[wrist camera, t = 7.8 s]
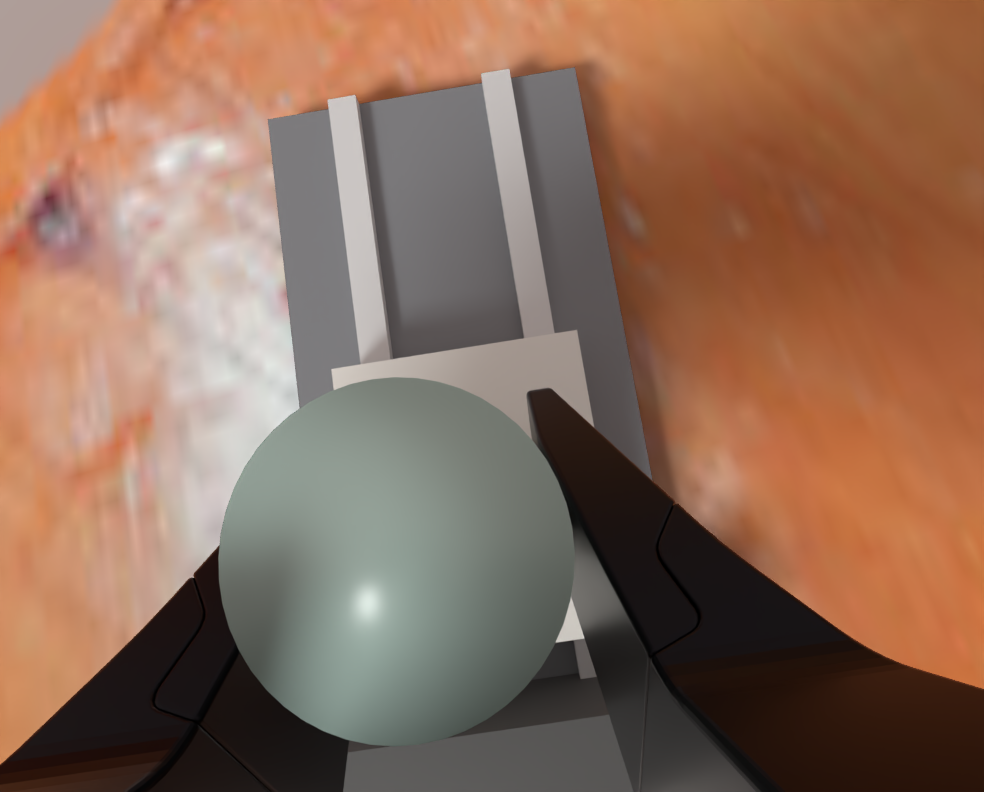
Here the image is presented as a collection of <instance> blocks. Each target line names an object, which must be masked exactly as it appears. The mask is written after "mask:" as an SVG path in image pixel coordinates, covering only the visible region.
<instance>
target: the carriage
mask: <svg viewBox="0 0 984 792" xmlns="http://www.w3.org/2000/svg"><path fill="white" fill-rule="evenodd" d="M331 371H332V379H333V388H334V390H333V391H330V392H328V393H326V394H324V395H322V396H320V397H318V398H316V399H314V400H312V401H310V402H309V403H307V404H306V405H304V406H303V407H301V408H300V409H298V410H297V411H296V412H294V413H293V414H291V415H290V416H289V417H288V418H286V419H285V420H284V421H283V422H282V423H281V424H280V425H279V426H278V427H276V428H275V429H274V430H273V431H272V432H271V433H270V435H269V436H268V437H267V438H266V439H265V440H264V441H263V443H262V444H261V445H260V446H259V447H258V448H257V450H256V451H255V453H254V454H253V456H252V457H251V459H250V460H249V462H248V463H247V465H246V466H245V468H244V470H243V472H242V474H241V476H240V478H239V480H238V481H237V483H236V485H235V487H234V490H233V493H232V495H231V498H230V501H229V504H228V506H227V509H226V513H225V517H224V522H223V526H222V530H221V536H220V546H219V556H218V561H219V584H220V591H221V597H222V604H223V608H224V611H225V615H226V618H227V622H228V625H229V629H230V631H231V633H232V636H233V638H234V640H235V642H236V645H237V647H238V649H239V651H240V653H241V655H242V656H243V658H244V660H245V661H246V663H247V665H248V666H249V668H250V670H251V671H252V672H253V674H254V675H255V676H256V677H257V679H258V680H259V681H260V682H261V684H262V685H263V686H264V688H265V689H266V690H267V691H268V692H269V693H270V694H271V695H272V696H273V697H274V698H275V699H277V700H278V701H279V702H280V703H281V704H282V705H283V706H284V707H285V708H287V709H288V710H289V711H291V712H292V713H294V714H295V715H296V716H298V717H299V718H300V719H302V720H303V721H305V722H307V723H309V724H311V725H313V726H315V727H317V728H318V729H320V730H322V731H324V732H327V733H330V734H332V735H335V736H338V737H341V738H343V739H346V740H350V741H355V742H360V743H364V744H369V745H382V746H406V745H419V744H424V743H428V742H433V741H438V740H442V739H445V738H448V737H450V736H453V735H456V734H459V733H461V732H464V731H466V730H468V729H470V728H472V727H474V726H476V725H478V724H479V723H481V722H483V721H485V720H487V719H488V718H490V717H491V716H492V715H494V714H495V713H497V712H498V711H499V710H501V709H502V708H504V707H505V706H506V705H508V704H509V703H510V702H511V701H512V700H513V699H514V698H515V697H516V696H517V695H518V694H519V693H520V692H521V691H522V690H523V689H524V688H525V687H526V686H527V685H528V683H529V682H530V681H531V680H532V678H533V677H534V676H535V675H536V673H537V672H538V671H539V670H540V668H541V667H542V665H543V664H544V662H545V660H546V659H547V657H548V655H549V654H550V652H551V650H552V649H553V647H554V645H555V643H557V642H564V641H570V640H577V639H584V635H583V632H582V629H581V626H580V623H579V620H578V616H577V613H576V610H575V607H574V604H573V601H572V598H571V593H572V586H573V580H574V558H575V550H574V540H573V531H572V525H571V520H570V516H569V512H568V508H567V504H566V501H565V498H564V496H563V493H562V490H561V488H560V485H559V482H558V480H557V478H556V476H555V475H554V473H553V471H552V469H551V467H550V465H549V463H548V461H547V460H546V458H545V457H544V456H543V454H542V453H541V451H540V450H539V449H538V447H537V446H536V444H535V443H534V442H533V440H532V436H531V430H530V422H529V414H528V406H527V398H526V394H527V392H528V391H530V390H536V389H543V388H551V389H553V390H554V391H555V392H556V393H557V394H558V395H559V396H560V397H561V398H562V399H564V400H565V401H566V402H567V403H568V404H569V405H570V406H571V407H572V408H573V409H574V410H576V411H577V412H578V413H579V414H580V415H581V416H582V417H583V418H584V419H585V420H587V421H588V422H589V423H590V424H591V425H592V426H593V427H594V424H593V418H592V412H591V407H590V401H589V395H588V390H587V384H586V378H585V373H584V367H583V361H582V356H581V350H580V344H579V339H578V333H577V330H573V331H566V332H560V333H554V334H548V335H541V336H535V337H529V338H523V339H516V340H510V341H504V342H498V343H491V344H485V345H479V346H472V347H466V348H460V349H454V350H447V351H441V352H435V353H429V354H422V355H416V356H410V357H404V358H397V359H391V360H385V361H379V362H372V363H366V364H360V365H353V366H347V367H341V368H335V369H331Z"/></svg>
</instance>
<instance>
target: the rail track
mask: <svg viewBox="0 0 984 792" xmlns="http://www.w3.org/2000/svg"><path fill="white" fill-rule="evenodd" d="M481 78H482V83H480V84H474V85H468V86H462V87H456V88H450V89H444V90H438V91H432V92H427V93H421V94H415V95H409V96H403V97H397V98H391V99H385V100H380V101H374V102H368V103H362V104H359V102H358V100H357V98H356V95H352V96H346V97H340V98H334V99H329V100H328V108H329V109H327V110H321V111H315V112H309V113H303V114H297V115H291V116H285V117H280V118H274V119H268V125H269V134H270V143H271V152H272V161H273V170H274V179H275V188H276V197H277V207H278V216H279V225H280V234H281V243H282V252H283V261H284V270H285V279H286V288H287V297H288V306H289V316H290V325H291V334H292V343H293V352H294V361H295V370H296V379H297V388H298V397H299V406H300V408H301V407H303V406H304V405H306V404H307V403H309V402H310V401H312V400H314V399H316V398H318V397H320V396H322V395H324V394H326V393H328V392H330V391H333V390H334V388H333V379H332V371H331V369H335V368H341V367H347V366H353V365H360V364H366V363H372V362H379V361H385V360H391V359H397V358H404V357H410V356H416V355H422V354H429V353H435V352H441V351H447V350H454V349H460V348H466V347H472V346H479V345H485V344H491V343H498V342H504V341H510V340H516V339H523V338H529V337H535V336H541V335H548V334H554V333H560V332H566V331H573V330H577V333H578V339H579V344H580V350H581V356H582V361H583V367H584V373H585V378H586V384H587V390H588V395H589V401H590V407H591V412H592V418H593V424H594V428H595V429H596V430H597V431H599V432H600V433H601V434H602V435H603V436H604V437H605V438H606V439H607V440H608V441H610V442H611V443H612V444H613V445H614V446H615V447H616V448H617V449H618V450H619V451H620V452H622V453H623V454H624V455H625V456H626V457H627V458H628V459H629V460H630V461H631V462H633V463H634V464H635V465H636V466H637V467H638V468H639V469H640V470H641V471H642V472H643V473H645V474H646V475H647V476H648V477H649V478H650V479H651V480H652V475H651V470H650V465H649V459H648V454H647V449H646V443H645V438H644V433H643V427H642V422H641V417H640V411H639V406H638V401H637V395H636V390H635V385H634V379H633V374H632V369H631V363H630V358H629V353H628V348H627V342H626V337H625V332H624V326H623V321H622V316H621V310H620V305H619V300H618V294H617V289H616V284H615V278H614V273H613V268H612V262H611V257H610V252H609V246H608V241H607V236H606V230H605V225H604V220H603V215H602V209H601V204H600V199H599V193H598V188H597V183H596V177H595V172H594V167H593V161H592V156H591V151H590V145H589V140H588V135H587V129H586V124H585V119H584V113H583V108H582V103H581V97H580V92H579V87H578V81H577V76H576V71H575V67H574V68H568V69H562V70H556V71H550V72H544V73H538V74H532V75H527V76H521V77H515V78H511V76H510V70H509V69H505V70H499V71H493V72H487V73H481ZM343 792H634V791H633V788H632V785H631V782H630V779H629V776H628V773H627V770H626V766H625V763H624V760H623V757H622V754H621V751H620V748H619V745H618V741H617V738H616V735H615V732H614V729H613V726H612V723H611V720H610V716H609V713H608V710H607V707H606V704H605V701H604V698H603V695H602V691H601V688H600V685H599V682H598V679H597V676H596V673H595V670H594V666H593V663H592V660H591V657H590V654H589V651H588V648H587V645H586V641H585V638H584V639H577V640H570V641H564V642H557V643H555V645H554V647H553V649H552V650H551V652H550V654H549V655H548V657H547V659H546V660H545V662H544V664H543V665H542V667H541V668H540V670H539V671H538V672H537V673H536V675H535V676H534V677H533V678H532V680H531V681H530V682H529V683H528V685H527V686H526V687H525V688H524V689H523V690H522V691H521V692H520V693H519V694H518V695H517V696H516V697H515V698H514V699H513V700H512V701H511V702H510V703H509V704H508V705H506V706H505V707H504V708H502V709H501V710H499V711H498V712H497V713H495V714H494V715H492V716H491V717H490V718H488V719H487V720H485V721H483V722H481V723H479V724H478V725H476V726H474V727H472V728H470V729H468V730H466V731H464V732H461V733H459V734H456V735H453V736H450V737H448V738H445V739H442V740H438V741H433V742H428V743H424V744H419V745H406V746H382V745H369V744H364V743H360V742H355V741H350V740H349V747H348V756H347V764H346V772H345V781H344V789H343Z"/></svg>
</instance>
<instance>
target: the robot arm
mask: <svg viewBox="0 0 984 792" xmlns="http://www.w3.org/2000/svg"><path fill="white" fill-rule="evenodd" d="M526 398H527V406H528V414H529V422H530V430H531V436H532V440H533V442H534V443H535V444H536V446H537V447H538V449H539V450H540V451H541V453H542V454H543V456H544V457H545V458H546V460H547V461H548V463H549V465H550V467H551V469H552V471H553V473H554V475H555V476H556V478H557V480H558V482H559V485H560V488H561V490H562V493H563V496H564V498H565V501H566V504H567V508H568V512H569V516H570V520H571V525H572V531H573V540H574V550H575V558H574V580H573V586H572V593H571V598H572V601H573V604H574V607H575V610H576V613H577V616H578V620H579V623H580V626H581V629H582V632H583V635H584V638H585V641H586V645H587V648H588V651H589V654H590V657H591V660H592V663H593V666H594V670H595V673H596V676H597V679H598V682H599V685H600V688H601V691H602V695H603V698H604V701H605V704H606V707H607V710H608V713H609V716H610V720H611V723H612V726H613V729H614V732H615V735H616V738H617V741H618V745H619V748H620V751H621V754H622V757H623V760H624V763H625V766H626V770H627V773H628V776H629V779H630V782H631V785H632V788H633V791H634V792H984V689H982V688H978V687H975V686H972V685H968V684H965V683H962V682H959V681H955V680H952V679H949V678H946V677H942V676H939V675H936V674H932V673H929V672H926V671H923V670H919V669H916V668H913V667H910V666H907V665H904V664H901V663H899V662H896V661H894V660H892V659H889V658H887V657H885V656H883V655H881V654H879V653H877V652H875V651H873V650H871V649H869V648H868V647H866V646H864V645H863V644H861V643H859V642H858V641H856V640H854V639H853V638H851V637H850V636H848V635H847V634H845V633H844V632H842V631H841V630H839V629H838V628H837V627H835V626H834V625H832V624H831V623H830V622H828V621H827V620H826V619H824V618H823V617H822V616H820V615H819V614H817V613H816V612H815V611H813V610H812V609H811V608H809V607H808V606H806V605H805V604H804V603H802V602H801V601H800V600H798V599H797V598H795V597H794V596H793V595H791V594H790V593H789V592H787V591H786V590H785V589H783V588H782V587H780V586H779V585H778V584H776V583H775V582H774V581H772V580H771V579H769V578H768V577H767V576H765V575H764V574H763V573H761V572H760V571H759V570H757V569H756V568H754V567H753V566H752V565H751V564H749V563H748V562H747V561H745V560H744V559H743V558H741V557H740V556H739V555H737V554H736V553H735V552H734V551H732V550H731V549H730V548H728V547H727V546H726V545H724V544H723V543H722V542H721V541H720V540H718V539H717V538H716V537H715V536H714V535H713V534H711V533H710V532H709V531H708V530H707V529H706V528H704V527H703V526H702V525H701V524H700V523H699V522H697V521H696V520H695V519H694V518H693V517H692V516H691V515H690V514H689V513H687V512H686V511H685V510H684V509H683V508H682V507H681V506H680V505H679V504H675V501H674V500H673V499H672V498H671V497H670V496H669V495H668V494H666V493H665V492H664V491H663V490H662V489H661V488H660V487H659V486H658V485H657V484H656V483H654V482H653V481H652V480H651V479H650V478H649V477H648V476H647V475H646V474H645V473H643V472H642V471H641V470H640V469H639V468H638V467H637V466H636V465H635V464H634V463H633V462H631V461H630V460H629V459H628V458H627V457H626V456H625V455H624V454H623V453H622V452H620V451H619V450H618V449H617V448H616V447H615V446H614V445H613V444H612V443H611V442H610V441H608V440H607V439H606V438H605V437H604V436H603V435H602V434H601V433H600V432H599V431H597V430H596V429H595V428H594V427H593V426H592V425H591V424H590V423H589V422H588V421H587V420H585V419H584V418H583V417H582V416H581V415H580V414H579V413H578V412H577V411H576V410H574V409H573V408H572V407H571V406H570V405H569V404H568V403H567V402H566V401H565V400H564V399H562V398H561V397H560V396H559V395H558V394H557V393H556V392H555V391H554V390H553V389H551V388H543V389H536V390H530V391H528V392H527V394H526ZM219 546H220V545H219ZM219 546H218V547H217V548H216V550H215V551H214V552H213V553H212V554H211V555H210V556H209V557H208V558H207V560H206V561H205V562H204V563H203V564H202V565H201V566H200V567H199V568H198V569H197V571H196V572H195V573H194V578H189V579H188V580H187V581H186V582H185V584H184V585H183V586H182V587H181V588H180V589H179V590H178V591H177V592H176V594H175V595H174V596H173V597H172V598H171V599H170V600H169V601H168V602H167V603H166V604H165V605H164V606H163V608H162V609H161V610H160V611H159V612H158V613H157V614H156V615H155V616H154V617H153V618H152V619H151V620H150V621H149V622H148V623H147V625H146V626H145V627H144V628H143V629H142V630H141V631H140V632H139V633H138V634H137V635H136V636H135V637H134V638H133V639H132V640H131V641H130V642H129V643H128V644H127V645H126V646H125V647H124V648H123V649H122V650H121V651H120V652H119V653H118V654H116V655H115V656H114V657H113V658H112V659H111V660H110V661H109V662H108V663H107V664H106V665H105V666H104V667H103V668H102V669H101V670H100V671H99V672H98V673H97V674H96V675H95V676H94V677H93V678H92V679H91V680H90V681H89V682H88V683H87V684H85V685H84V686H83V687H82V688H81V689H80V690H79V691H78V692H77V693H76V694H75V695H74V696H73V697H72V698H71V699H70V700H69V701H68V702H67V703H66V704H65V705H64V706H62V707H61V708H60V709H59V710H58V711H57V712H56V713H55V714H54V715H53V716H52V717H51V718H50V719H49V720H48V721H47V722H46V723H45V724H44V725H43V726H42V727H41V728H40V729H38V730H37V731H36V732H35V733H34V734H33V735H32V736H31V737H30V738H29V739H28V740H27V741H26V742H25V743H24V744H23V745H22V746H21V747H20V748H19V749H17V750H16V751H15V752H14V753H13V754H12V755H11V756H10V757H9V758H7V759H6V760H5V761H4V762H3V763H2V764H0V792H343V789H344V781H345V772H346V764H347V756H348V747H349V740H346V739H343V738H341V737H338V736H335V735H332V734H330V733H327V732H324V731H322V730H320V729H318V728H317V727H315V726H313V725H311V724H309V723H307V722H305V721H303V720H302V719H300V718H299V717H298V716H296V715H295V714H294V713H292V712H291V711H289V710H288V709H287V708H285V707H284V706H283V705H282V704H281V703H280V702H279V701H278V700H277V699H275V698H274V697H273V696H272V695H271V694H270V693H269V692H268V691H267V690H266V689H265V688H264V686H263V685H262V684H261V682H260V681H259V680H258V679H257V677H256V676H255V675H254V674H253V672H252V671H251V670H250V668H249V666H248V665H247V663H246V661H245V660H244V658H243V656H242V655H241V653H240V651H239V649H238V647H237V645H236V642H235V640H234V638H233V636H232V633H231V631H230V629H229V625H228V622H227V618H226V615H225V611H224V608H223V604H222V597H221V591H220V584H219V561H218V556H219Z"/></svg>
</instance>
